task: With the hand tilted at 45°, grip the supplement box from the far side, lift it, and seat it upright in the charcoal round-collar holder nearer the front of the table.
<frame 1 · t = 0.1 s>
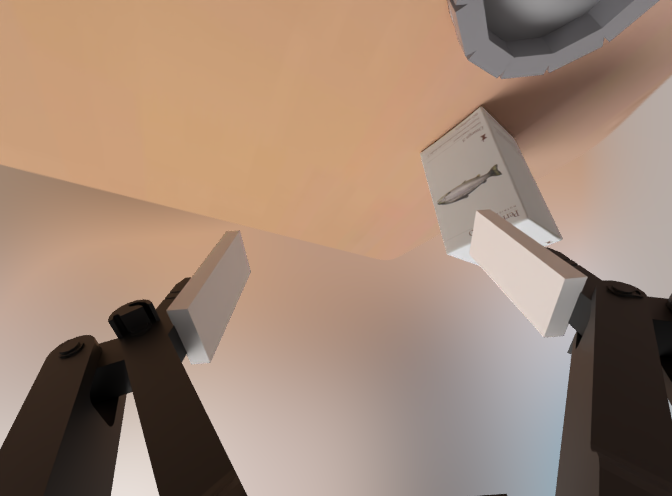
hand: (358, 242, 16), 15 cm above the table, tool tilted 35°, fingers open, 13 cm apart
supplement box: (464, 143, 31), on the table
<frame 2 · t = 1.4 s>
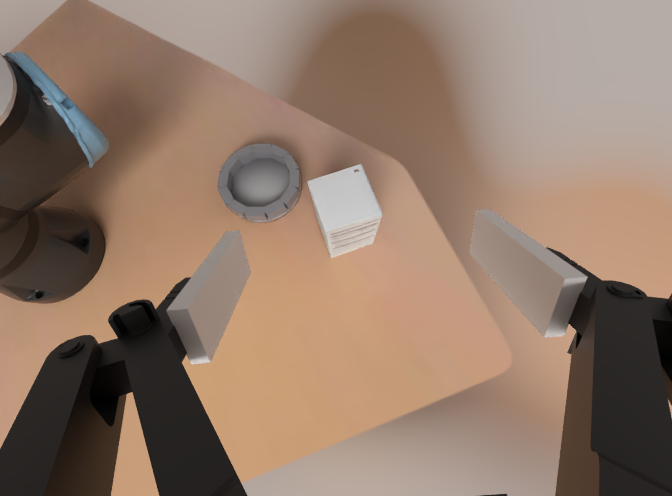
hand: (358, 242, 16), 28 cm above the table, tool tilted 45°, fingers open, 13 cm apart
supplement box: (344, 232, 46), on the table
round holder: (263, 187, 48), on the table
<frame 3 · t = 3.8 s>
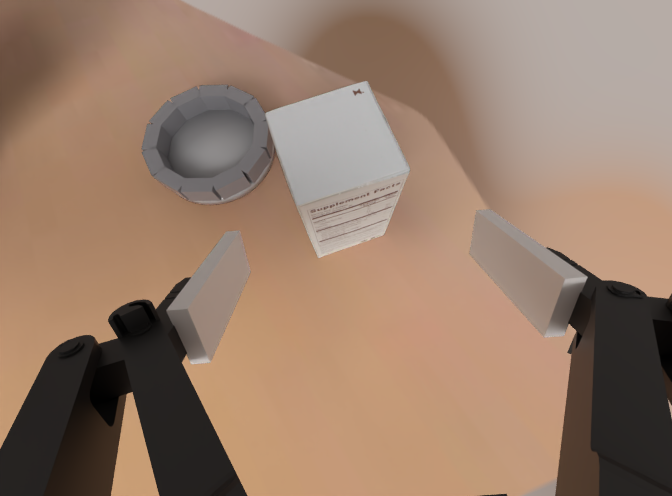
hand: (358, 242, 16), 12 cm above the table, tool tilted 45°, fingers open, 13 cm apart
supplement box: (339, 217, 30), on the table
round holder: (218, 152, 32), on the table
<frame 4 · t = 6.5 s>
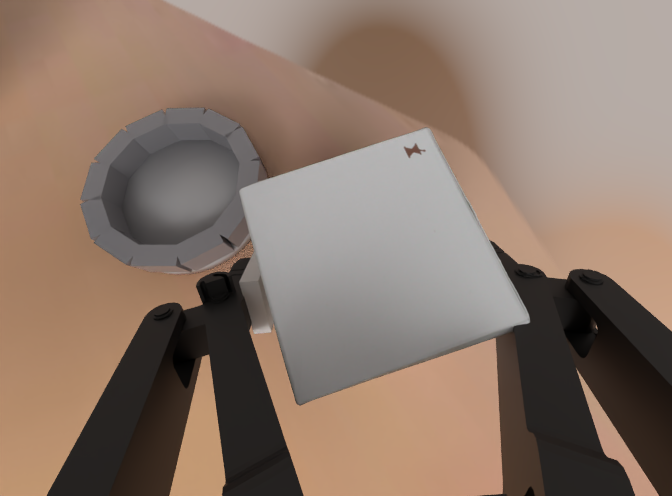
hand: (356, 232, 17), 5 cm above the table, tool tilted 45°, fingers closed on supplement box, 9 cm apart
supplement box: (358, 296, 21), on the table, touching gripper
round holder: (192, 198, 24), on the table
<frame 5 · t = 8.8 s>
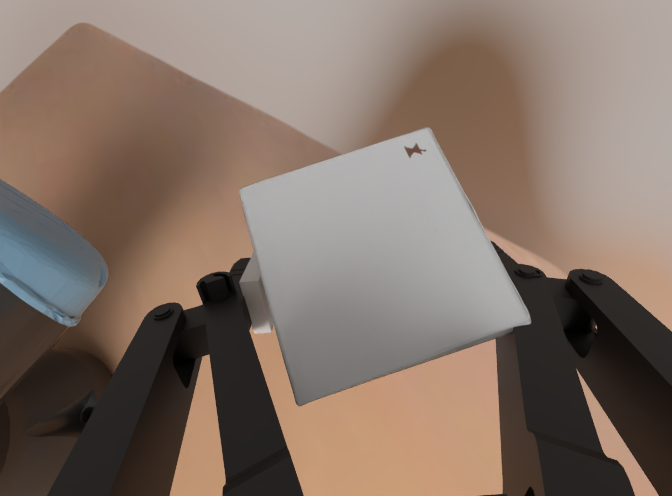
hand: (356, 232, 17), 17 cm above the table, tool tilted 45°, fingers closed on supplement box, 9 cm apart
supplement box: (358, 296, 21), point 12 cm above the table, touching gripper
when the fingers open (7 cm above the table, at t = 11.6 s): supplement box stays where it is, resting on round holder.
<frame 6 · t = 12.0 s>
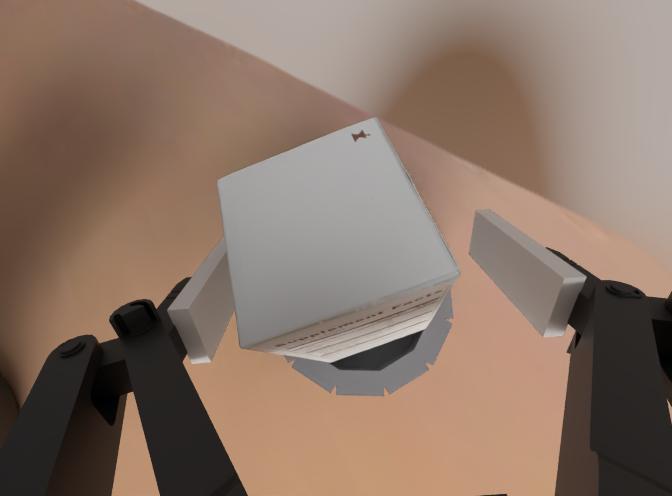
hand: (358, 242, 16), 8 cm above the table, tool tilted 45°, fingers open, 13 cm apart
supplement box: (361, 300, 21), point 2 cm above the table, touching round holder
round holder: (357, 299, 23), on the table
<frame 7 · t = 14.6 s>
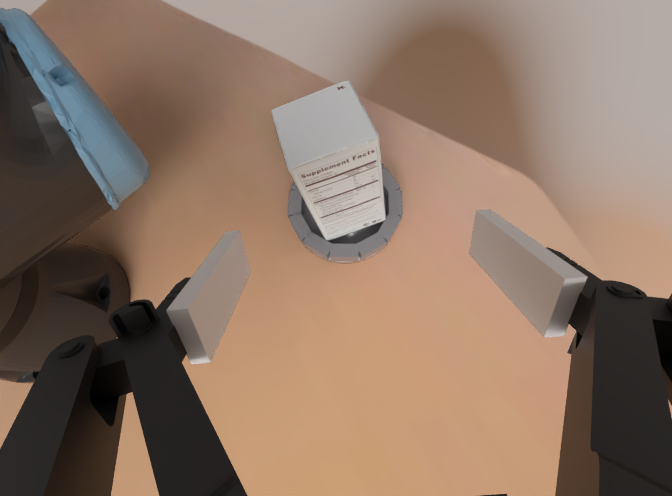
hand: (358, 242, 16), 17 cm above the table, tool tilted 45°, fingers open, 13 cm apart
supplement box: (347, 208, 33), point 2 cm above the table, touching round holder
round holder: (345, 212, 35), on the table
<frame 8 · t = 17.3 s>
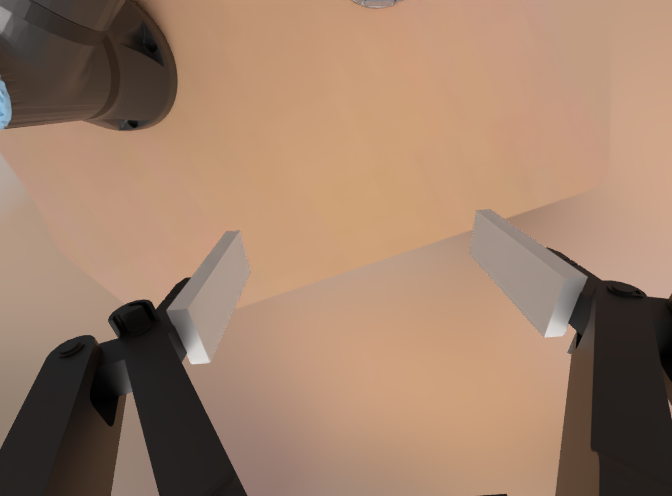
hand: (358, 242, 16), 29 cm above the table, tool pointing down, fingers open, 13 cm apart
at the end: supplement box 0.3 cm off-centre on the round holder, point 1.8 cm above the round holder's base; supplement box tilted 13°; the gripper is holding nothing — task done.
